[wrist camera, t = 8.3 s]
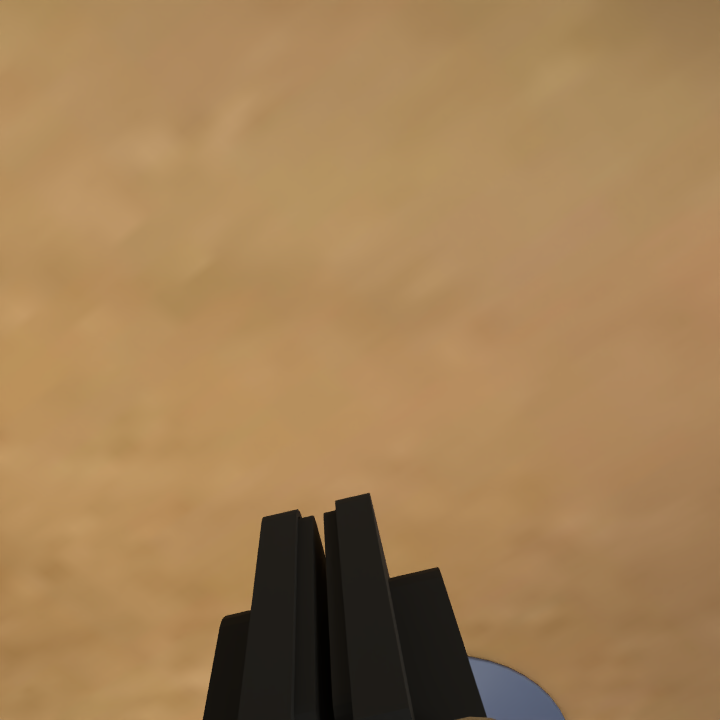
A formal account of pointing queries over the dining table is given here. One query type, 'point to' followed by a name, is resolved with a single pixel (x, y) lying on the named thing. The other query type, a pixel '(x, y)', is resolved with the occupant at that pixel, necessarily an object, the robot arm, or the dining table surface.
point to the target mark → (511, 693)
